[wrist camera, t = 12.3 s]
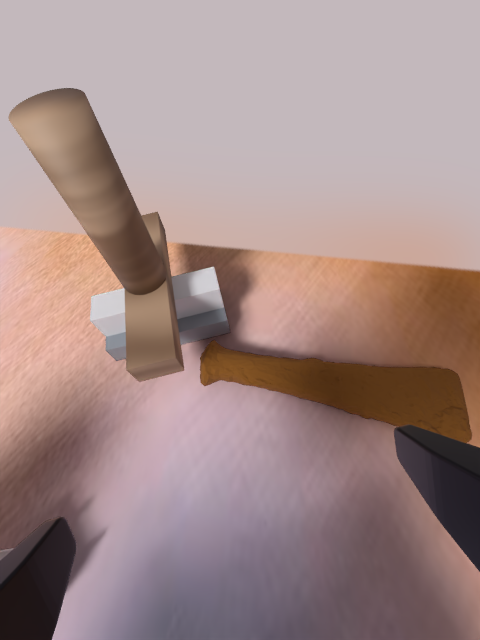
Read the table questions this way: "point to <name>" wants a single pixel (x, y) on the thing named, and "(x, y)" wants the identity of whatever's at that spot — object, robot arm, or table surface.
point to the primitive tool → (352, 387)
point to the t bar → (108, 221)
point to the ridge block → (191, 308)
